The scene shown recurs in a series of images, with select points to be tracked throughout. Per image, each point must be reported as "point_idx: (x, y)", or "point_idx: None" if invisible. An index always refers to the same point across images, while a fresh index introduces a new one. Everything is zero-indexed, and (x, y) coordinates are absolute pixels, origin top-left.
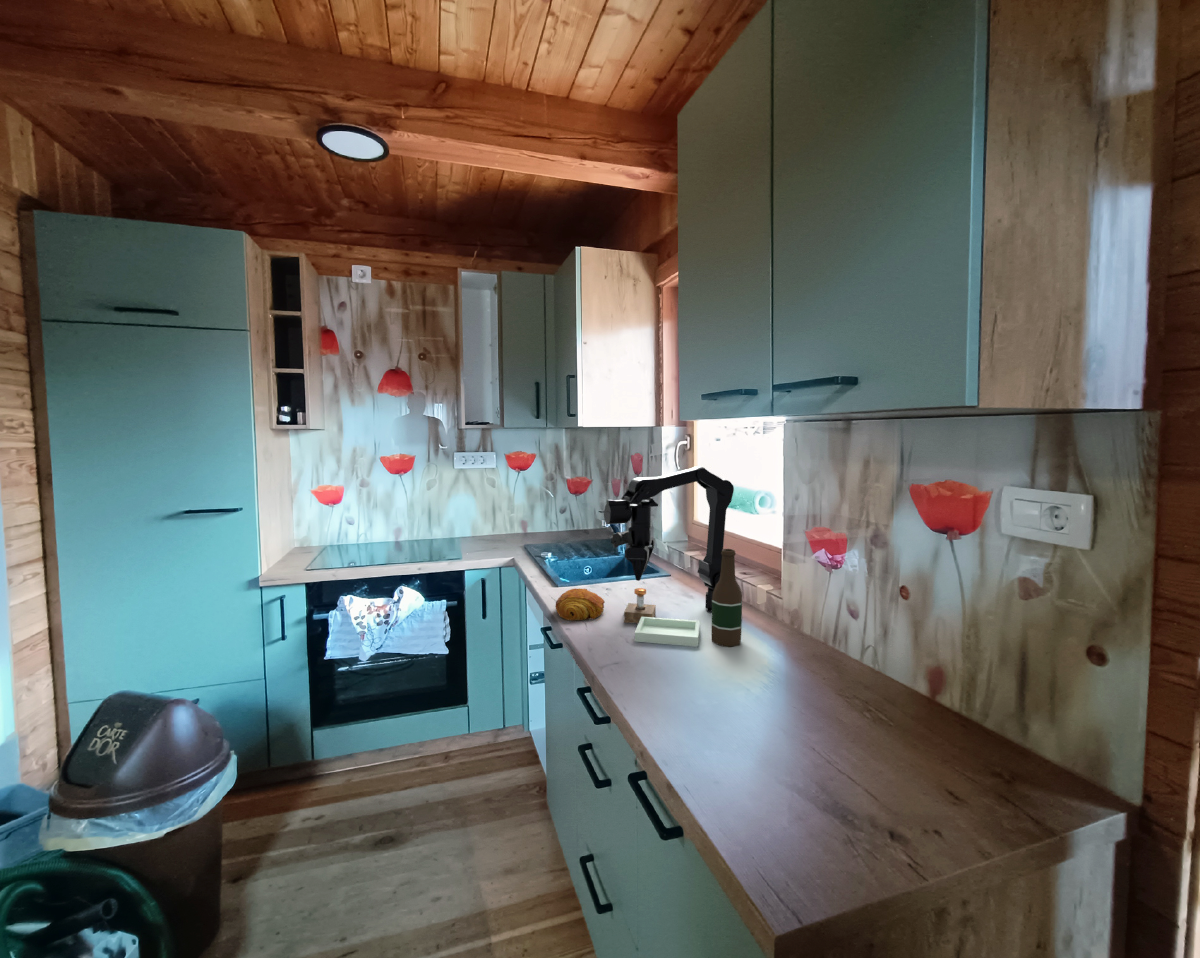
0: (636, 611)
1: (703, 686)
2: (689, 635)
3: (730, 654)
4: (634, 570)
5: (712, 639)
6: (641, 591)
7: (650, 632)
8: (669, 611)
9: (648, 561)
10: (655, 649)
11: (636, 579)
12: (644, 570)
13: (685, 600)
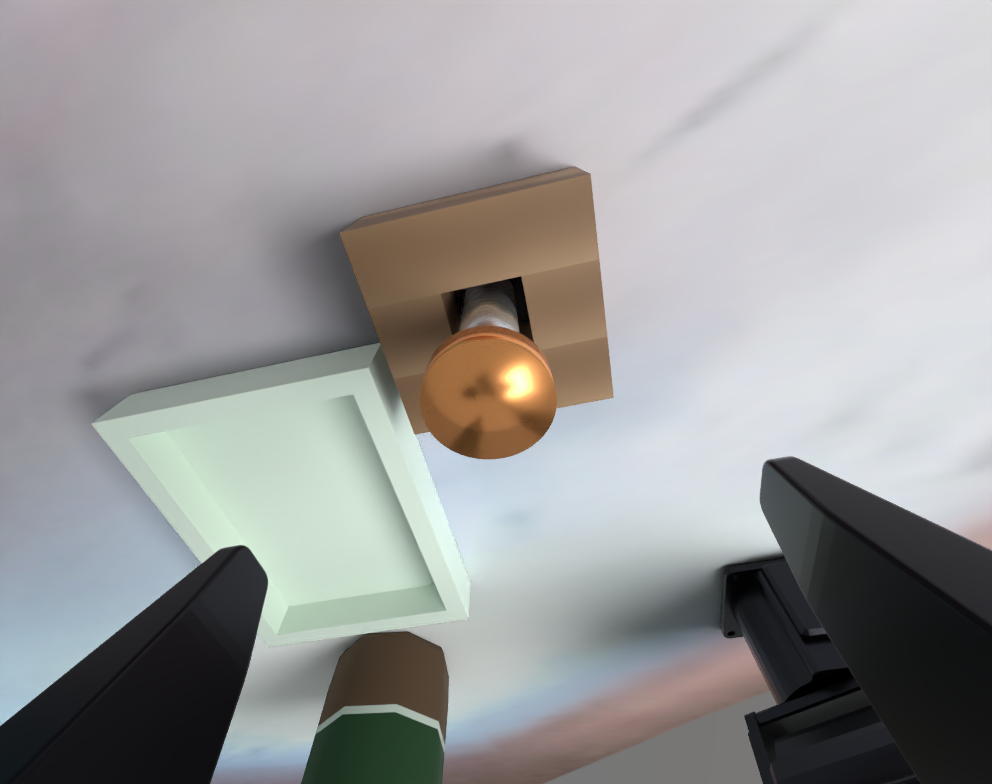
0: (405, 322)
1: (14, 667)
2: (264, 622)
3: (293, 682)
4: (3, 742)
5: (359, 645)
6: (435, 432)
7: (162, 491)
8: (690, 415)
9: (910, 762)
10: (130, 499)
11: (214, 563)
12: (774, 529)
13: (931, 441)
